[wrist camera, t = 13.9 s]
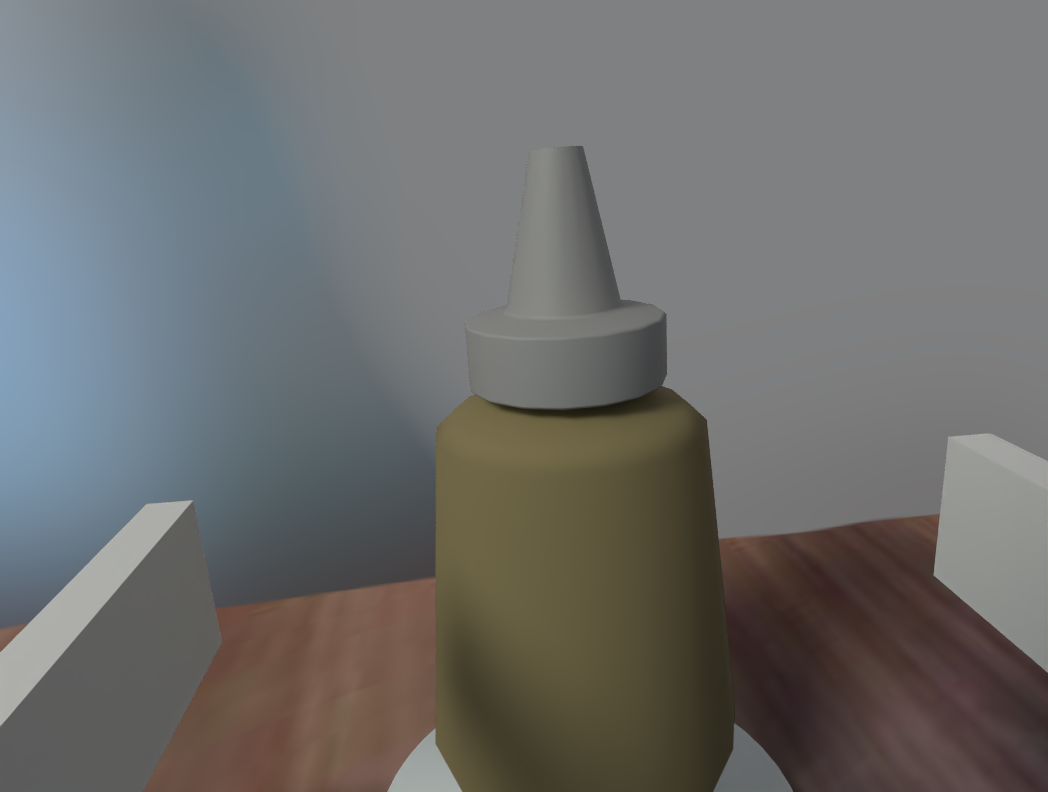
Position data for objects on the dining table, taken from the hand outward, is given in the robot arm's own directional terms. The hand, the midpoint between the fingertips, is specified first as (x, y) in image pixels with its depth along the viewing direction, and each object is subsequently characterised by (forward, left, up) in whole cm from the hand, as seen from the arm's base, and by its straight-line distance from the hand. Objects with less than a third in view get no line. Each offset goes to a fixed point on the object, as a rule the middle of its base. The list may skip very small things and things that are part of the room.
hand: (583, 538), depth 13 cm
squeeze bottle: (-1, -5, -12) cm, 13 cm away
